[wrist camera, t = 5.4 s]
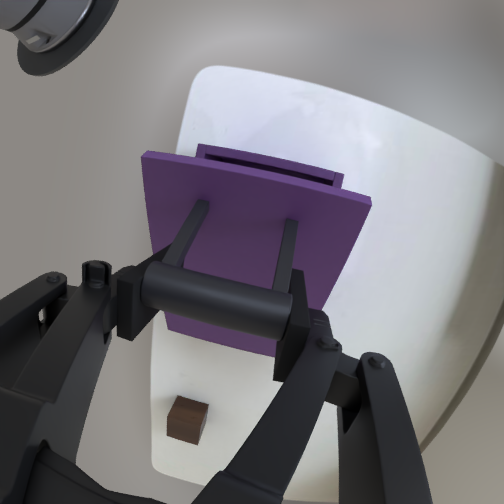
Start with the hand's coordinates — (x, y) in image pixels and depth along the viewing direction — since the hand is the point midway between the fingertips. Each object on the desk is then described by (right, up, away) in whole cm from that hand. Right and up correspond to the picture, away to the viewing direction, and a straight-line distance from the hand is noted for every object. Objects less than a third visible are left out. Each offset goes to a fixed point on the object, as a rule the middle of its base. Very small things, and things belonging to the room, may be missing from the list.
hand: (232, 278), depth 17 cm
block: (-8, -23, +25) cm, 35 cm away
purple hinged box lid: (0, -1, +5) cm, 5 cm away
